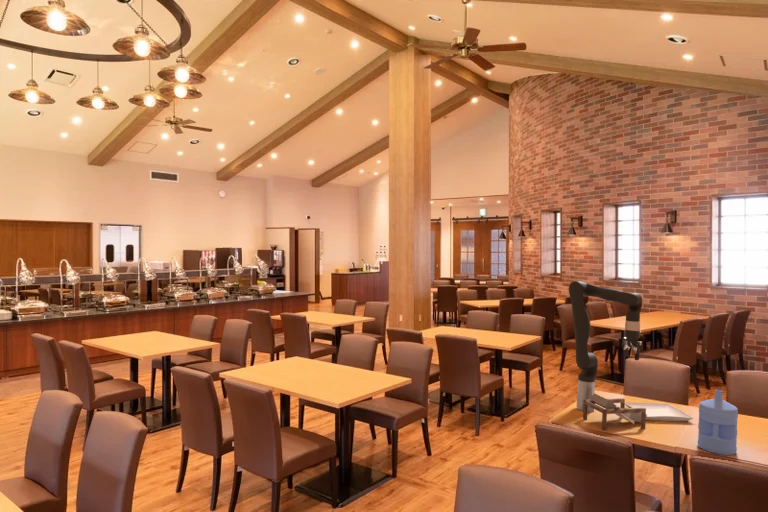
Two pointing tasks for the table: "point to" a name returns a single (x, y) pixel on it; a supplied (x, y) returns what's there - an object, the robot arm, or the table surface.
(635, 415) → the granite block
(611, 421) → the table surface
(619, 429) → the table surface
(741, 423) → the table surface
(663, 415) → the square plate
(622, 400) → the frame
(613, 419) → the table surface
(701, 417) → the water jug
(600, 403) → the trapdoor
